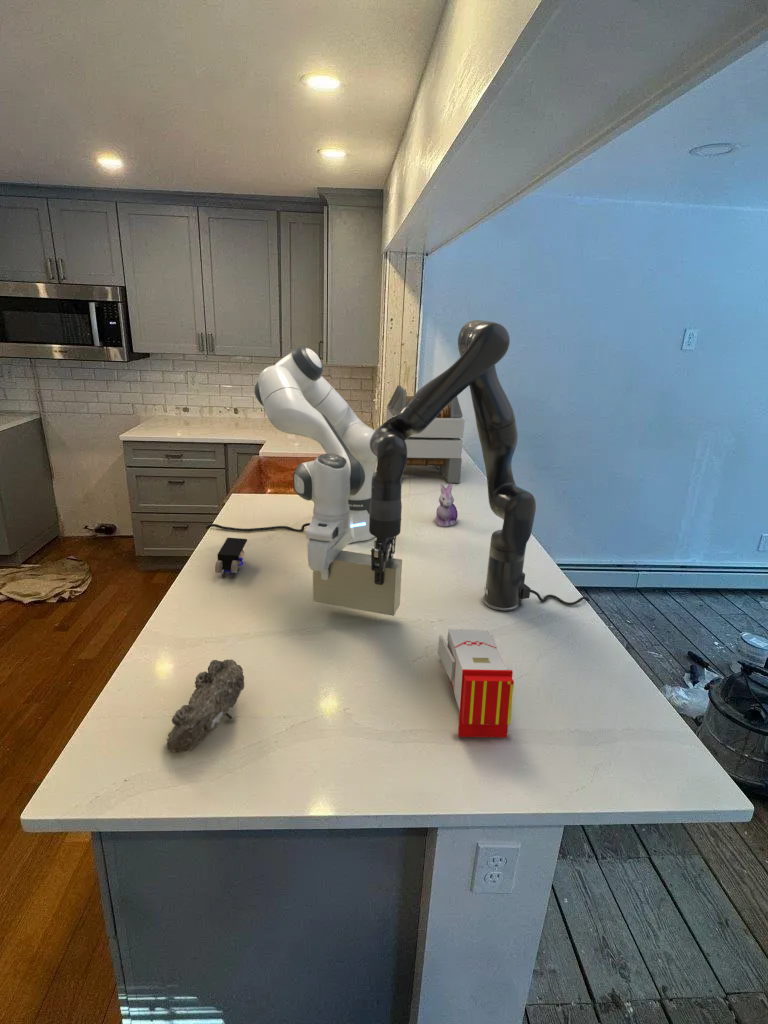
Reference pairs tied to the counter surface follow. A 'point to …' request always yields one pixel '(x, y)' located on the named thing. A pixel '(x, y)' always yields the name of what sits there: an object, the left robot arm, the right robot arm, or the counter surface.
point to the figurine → (446, 508)
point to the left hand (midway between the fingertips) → (330, 572)
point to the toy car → (230, 556)
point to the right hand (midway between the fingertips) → (382, 577)
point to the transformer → (434, 438)
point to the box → (359, 584)
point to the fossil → (206, 705)
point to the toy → (478, 682)
